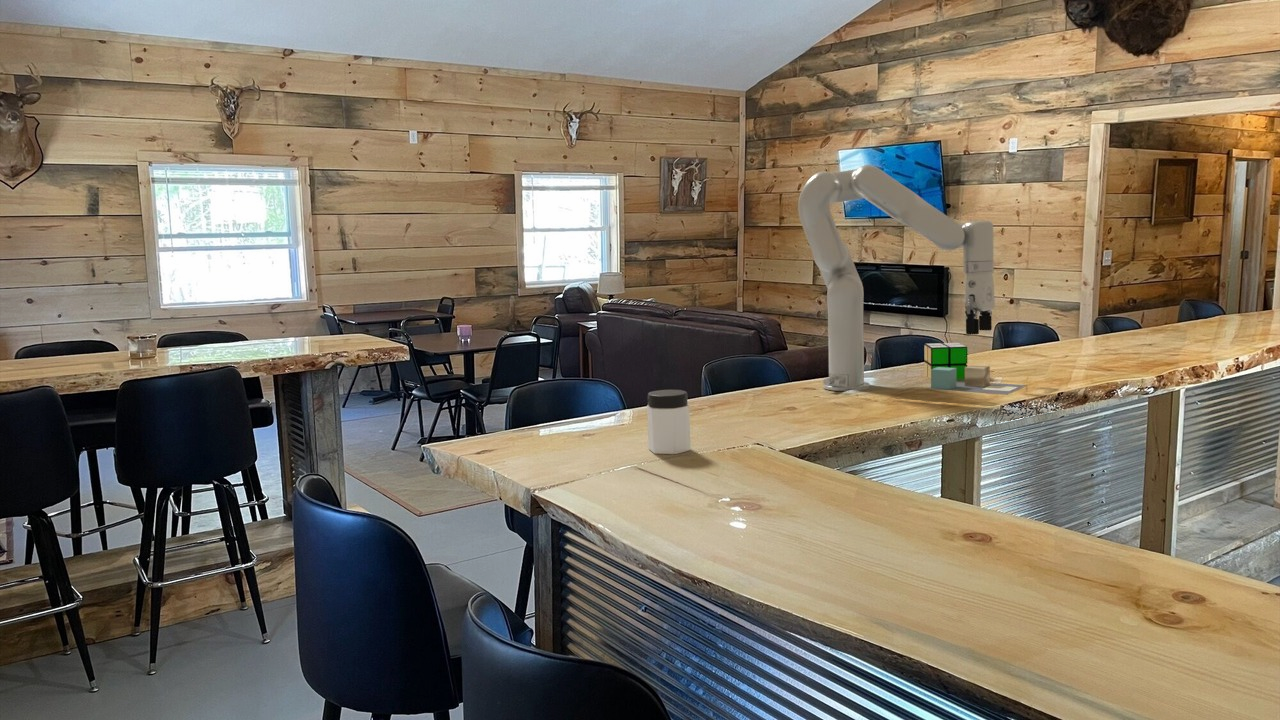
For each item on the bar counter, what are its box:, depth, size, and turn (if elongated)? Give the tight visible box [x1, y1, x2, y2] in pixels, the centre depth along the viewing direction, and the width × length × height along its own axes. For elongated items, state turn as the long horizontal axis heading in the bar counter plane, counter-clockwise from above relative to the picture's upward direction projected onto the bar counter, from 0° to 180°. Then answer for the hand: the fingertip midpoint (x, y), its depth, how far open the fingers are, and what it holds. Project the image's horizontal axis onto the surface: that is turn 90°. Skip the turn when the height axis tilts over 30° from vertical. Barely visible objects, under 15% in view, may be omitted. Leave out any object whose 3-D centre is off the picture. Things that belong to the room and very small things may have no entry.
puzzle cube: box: [923, 342, 968, 380], centre depth 266 cm, size 10×10×10 cm
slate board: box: [926, 380, 1028, 396], centre depth 247 cm, size 16×21×1 cm
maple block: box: [964, 364, 991, 387], centre depth 249 cm, size 5×5×5 cm
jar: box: [646, 389, 692, 455], centre depth 190 cm, size 9×8×12 cm
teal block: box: [930, 367, 957, 389], centre depth 248 cm, size 5×5×5 cm
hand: (978, 332), depth 248 cm, fingers open, 9 cm apart
